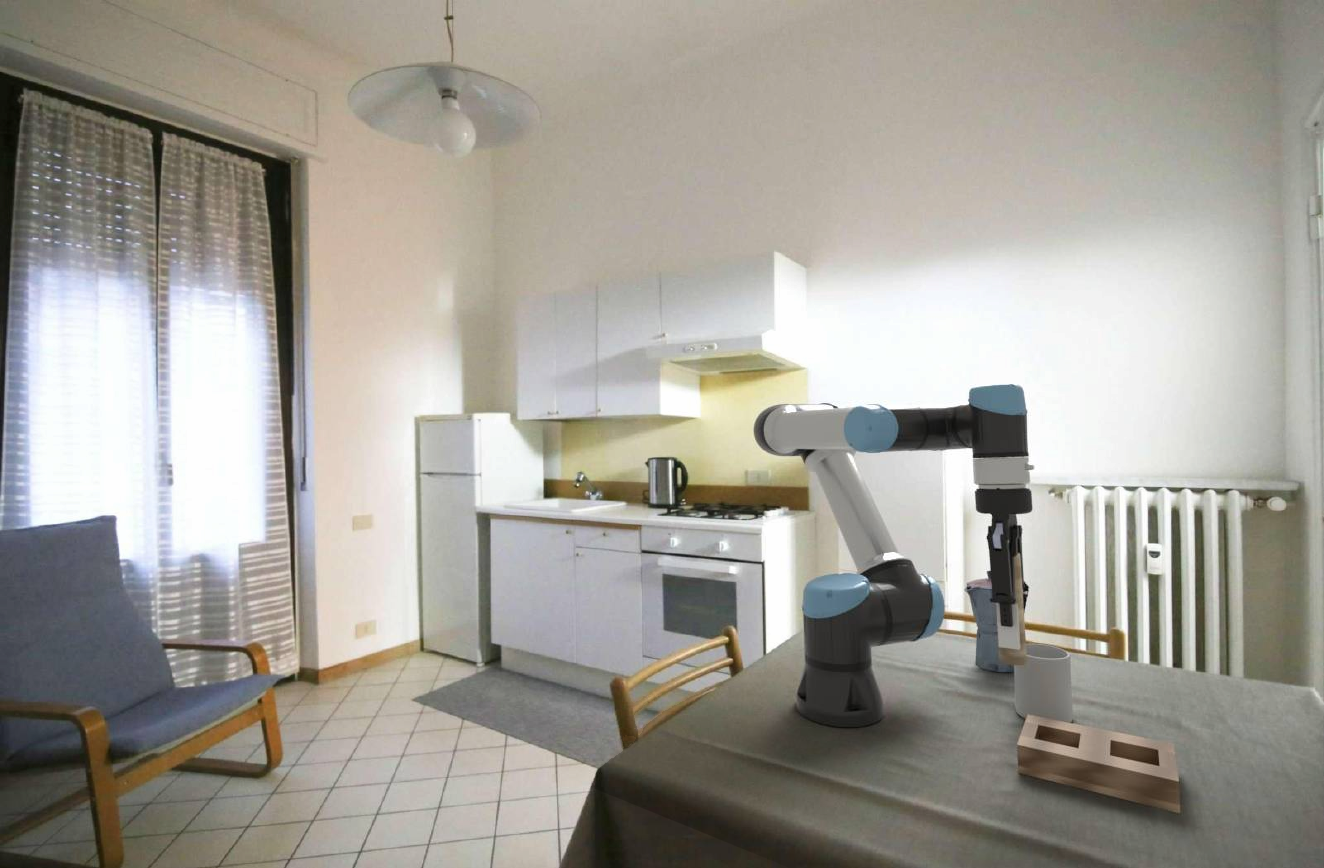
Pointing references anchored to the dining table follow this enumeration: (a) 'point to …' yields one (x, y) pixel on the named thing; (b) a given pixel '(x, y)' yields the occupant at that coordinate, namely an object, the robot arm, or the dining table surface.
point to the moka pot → (987, 624)
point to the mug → (1044, 684)
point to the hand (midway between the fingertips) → (1012, 643)
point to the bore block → (1100, 761)
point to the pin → (1020, 655)
